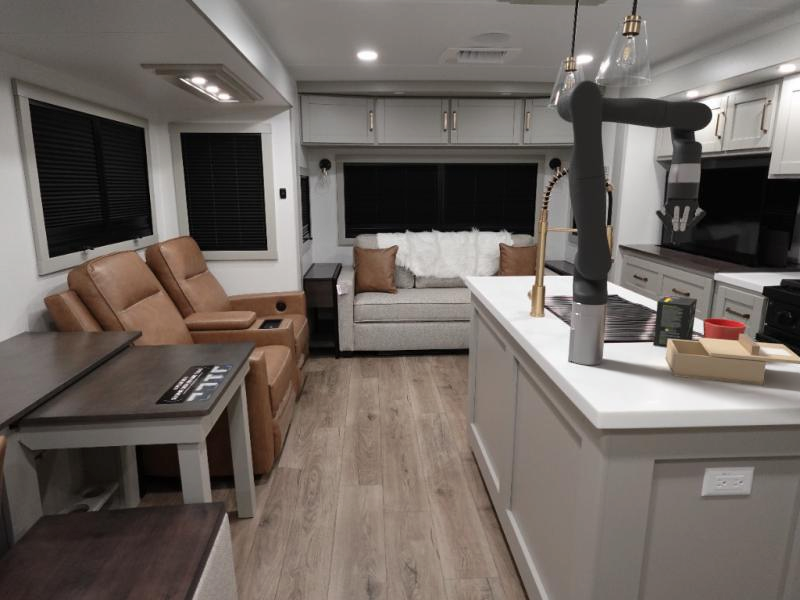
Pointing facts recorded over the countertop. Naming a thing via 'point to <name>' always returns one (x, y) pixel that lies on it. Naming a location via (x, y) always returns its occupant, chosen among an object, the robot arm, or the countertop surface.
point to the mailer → (711, 364)
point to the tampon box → (674, 319)
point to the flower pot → (723, 329)
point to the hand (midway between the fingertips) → (676, 244)
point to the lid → (749, 350)
